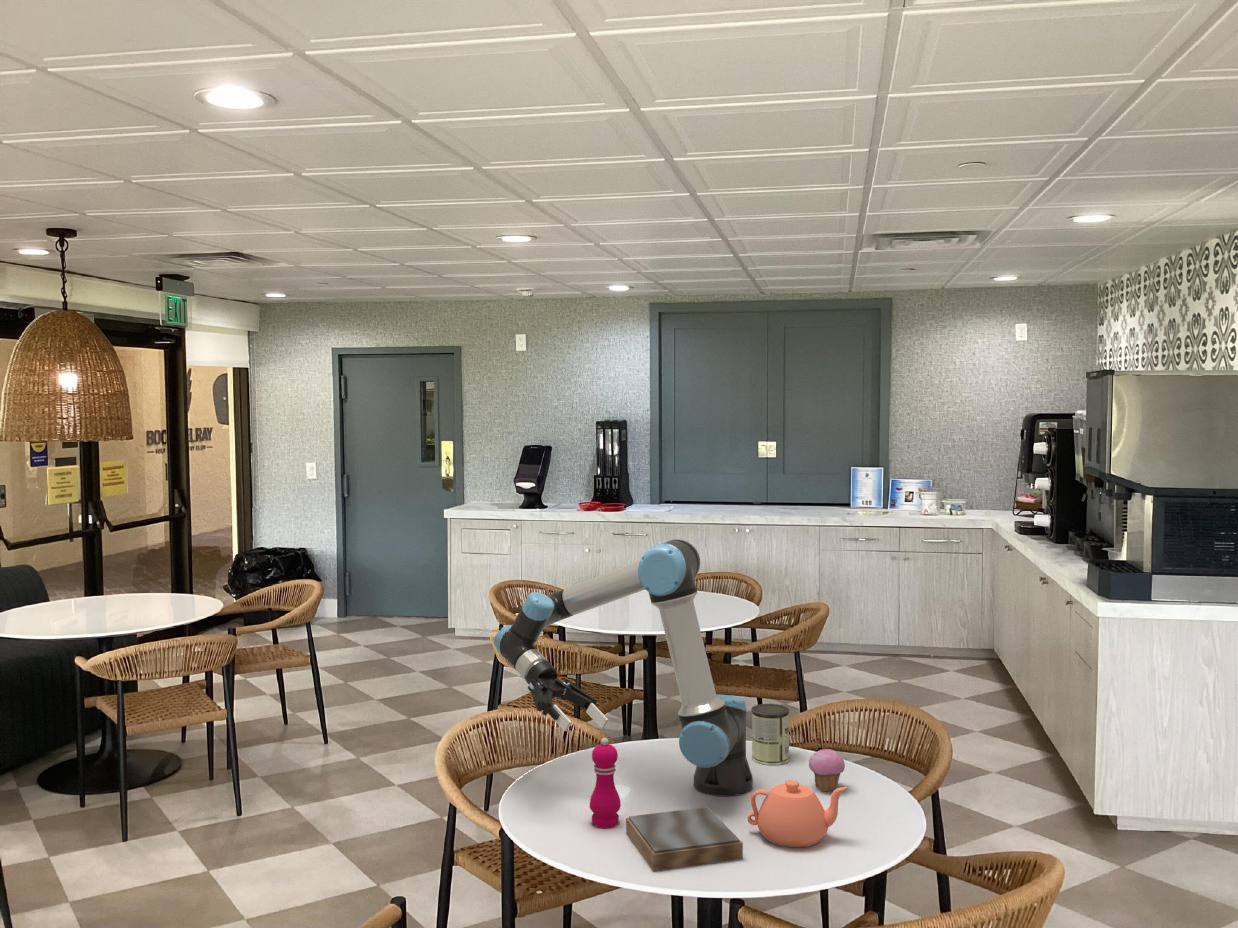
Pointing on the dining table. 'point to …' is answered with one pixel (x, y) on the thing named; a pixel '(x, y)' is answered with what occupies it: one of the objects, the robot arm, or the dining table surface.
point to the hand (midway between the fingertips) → (587, 725)
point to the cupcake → (826, 768)
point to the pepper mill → (605, 787)
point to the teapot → (793, 814)
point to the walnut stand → (683, 838)
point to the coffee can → (770, 734)
